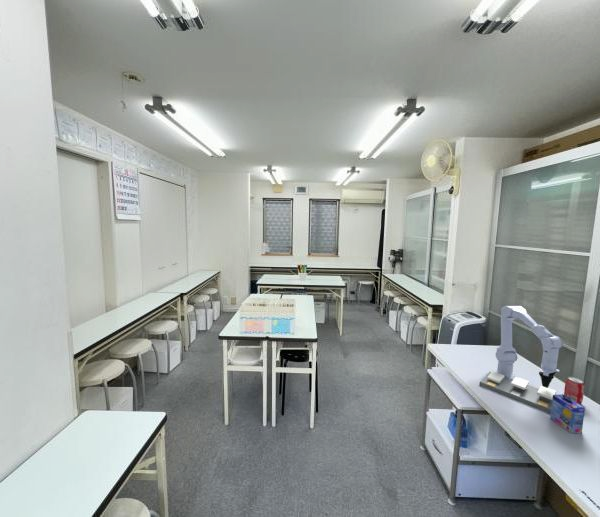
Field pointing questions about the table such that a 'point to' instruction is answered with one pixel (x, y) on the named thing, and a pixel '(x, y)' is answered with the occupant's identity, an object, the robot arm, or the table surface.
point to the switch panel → (518, 393)
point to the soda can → (574, 389)
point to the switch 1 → (496, 377)
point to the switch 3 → (546, 392)
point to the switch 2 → (520, 383)
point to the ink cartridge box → (567, 413)
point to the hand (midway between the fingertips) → (546, 384)
